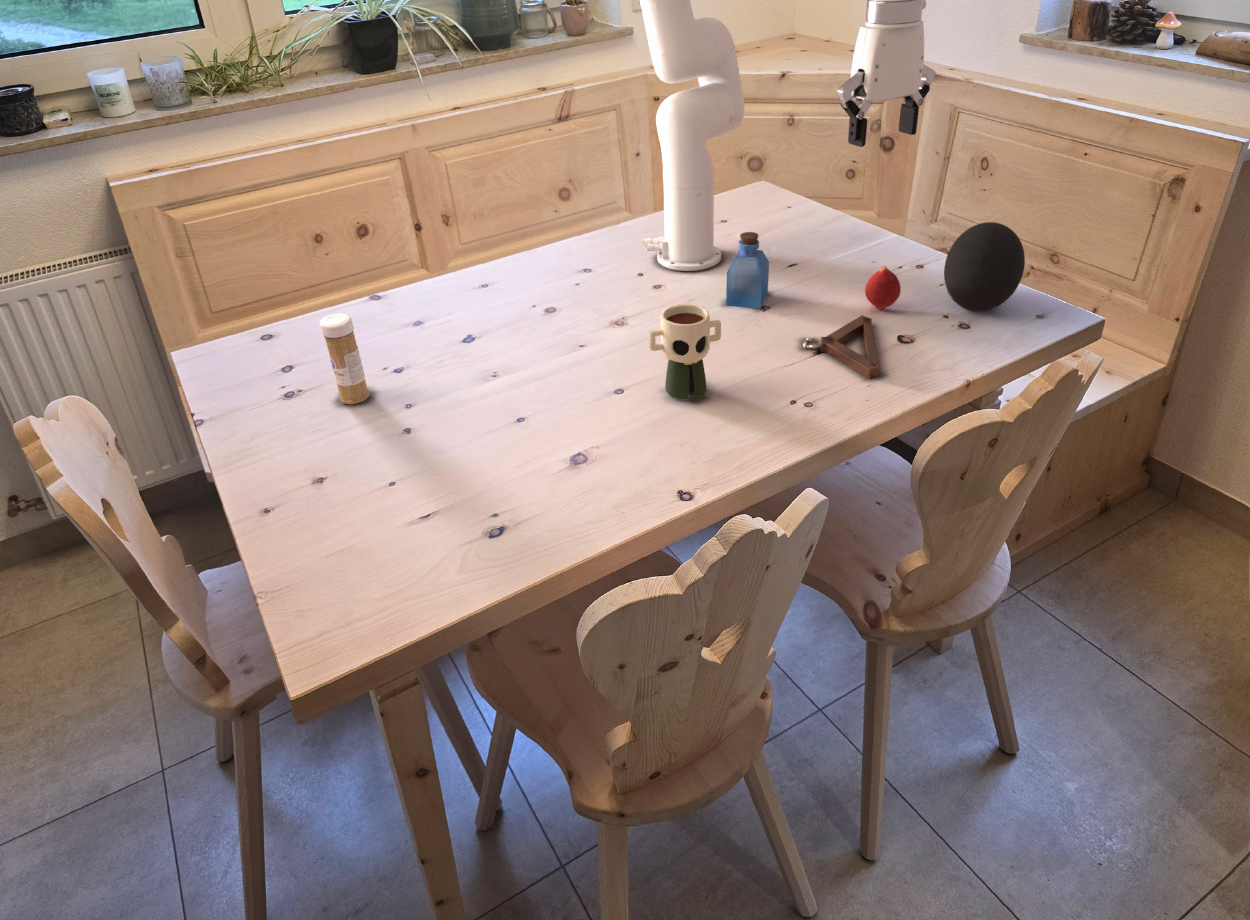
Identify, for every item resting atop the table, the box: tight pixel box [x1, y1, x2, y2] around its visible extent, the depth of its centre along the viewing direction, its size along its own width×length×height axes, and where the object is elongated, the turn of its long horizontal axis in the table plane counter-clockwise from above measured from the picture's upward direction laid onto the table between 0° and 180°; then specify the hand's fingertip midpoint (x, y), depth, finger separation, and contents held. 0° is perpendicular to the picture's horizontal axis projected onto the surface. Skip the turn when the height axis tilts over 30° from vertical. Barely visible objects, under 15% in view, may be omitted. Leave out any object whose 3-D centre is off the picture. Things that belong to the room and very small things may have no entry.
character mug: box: [648, 303, 722, 401], centre depth 131 cm, size 11×7×13 cm, turn 104°
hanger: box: [802, 314, 881, 379], centre depth 143 cm, size 11×18×2 cm, turn 171°
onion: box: [864, 265, 902, 311], centre depth 152 cm, size 6×6×8 cm
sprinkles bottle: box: [319, 313, 370, 405], centre depth 134 cm, size 5×5×13 cm
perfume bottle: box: [725, 231, 770, 309], centre depth 157 cm, size 6×6×12 cm
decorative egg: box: [943, 221, 1026, 312], centre depth 149 cm, size 12×12×15 cm
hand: (882, 138), depth 134 cm, fingers open, 9 cm apart
